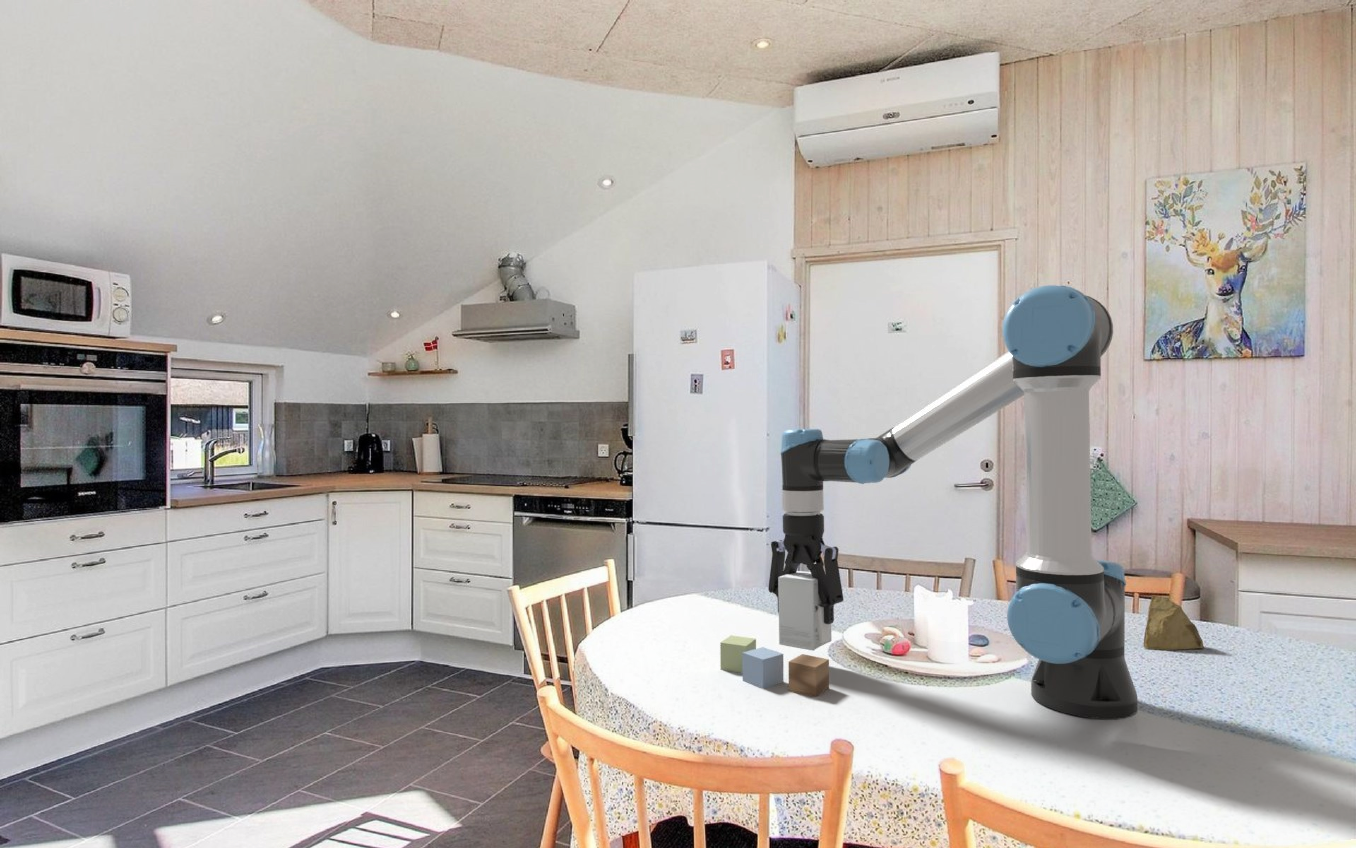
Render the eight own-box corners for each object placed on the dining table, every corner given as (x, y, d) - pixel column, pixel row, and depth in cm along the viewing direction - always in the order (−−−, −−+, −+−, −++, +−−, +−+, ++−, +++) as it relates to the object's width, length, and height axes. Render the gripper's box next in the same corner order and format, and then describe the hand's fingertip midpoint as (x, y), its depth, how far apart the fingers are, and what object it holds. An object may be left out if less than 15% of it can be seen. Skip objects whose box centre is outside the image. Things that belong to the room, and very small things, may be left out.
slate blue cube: (783, 682, 134) (783, 653, 134) (762, 689, 131) (762, 659, 130) (763, 675, 138) (762, 647, 137) (742, 681, 134) (742, 652, 134)
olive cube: (756, 665, 143) (755, 638, 143) (746, 673, 138) (745, 646, 138) (731, 661, 145) (731, 635, 145) (720, 669, 140) (720, 642, 140)
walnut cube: (829, 688, 130) (828, 659, 130) (815, 697, 126) (815, 667, 126) (802, 682, 133) (802, 654, 133) (788, 691, 129) (788, 661, 129)
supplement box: (814, 651, 136) (813, 580, 136) (778, 645, 141) (776, 576, 141) (833, 641, 142) (831, 573, 142) (797, 635, 147) (796, 569, 147)
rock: (1206, 632, 154) (1149, 618, 160) (1211, 604, 149) (1151, 591, 155) (1199, 675, 148) (1139, 659, 154) (1203, 648, 143) (1142, 632, 149)
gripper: (863, 514, 137) (865, 643, 137) (772, 507, 152) (774, 622, 152) (838, 519, 131) (841, 652, 131) (747, 510, 147) (749, 630, 147)
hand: (805, 636), depth 142 cm, fingers closed on supplement box, 8 cm apart
